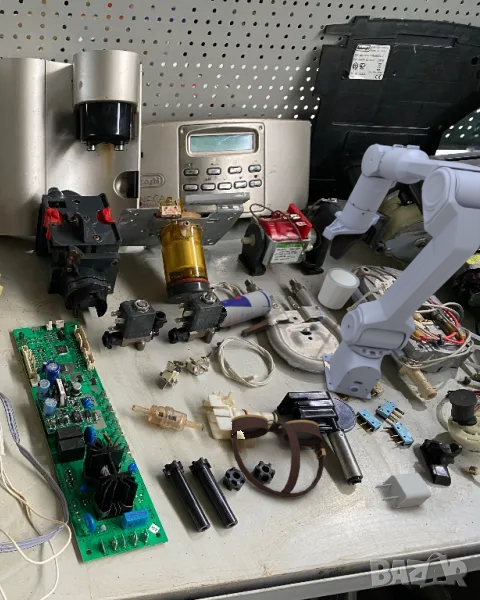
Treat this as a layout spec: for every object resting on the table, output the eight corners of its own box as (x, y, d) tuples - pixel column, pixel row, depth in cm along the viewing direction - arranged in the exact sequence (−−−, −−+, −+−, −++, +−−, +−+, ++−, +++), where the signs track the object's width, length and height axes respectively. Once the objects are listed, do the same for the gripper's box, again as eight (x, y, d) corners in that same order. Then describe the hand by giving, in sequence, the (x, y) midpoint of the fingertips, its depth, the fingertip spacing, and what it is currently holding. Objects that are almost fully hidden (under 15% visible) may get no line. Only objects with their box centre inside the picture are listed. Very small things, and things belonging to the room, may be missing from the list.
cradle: (258, 293, 119) (261, 288, 118) (287, 319, 113) (290, 314, 112) (215, 310, 113) (216, 305, 112) (243, 338, 108) (245, 333, 107)
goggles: (309, 430, 92) (336, 408, 84) (322, 507, 85) (353, 492, 77) (223, 421, 92) (241, 398, 84) (228, 498, 85) (249, 482, 77)
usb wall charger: (419, 506, 84) (432, 494, 81) (380, 511, 83) (393, 499, 80) (404, 483, 87) (416, 470, 84) (366, 487, 86) (378, 475, 83)
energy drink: (260, 284, 112) (215, 297, 108) (276, 302, 109) (230, 316, 105) (251, 301, 116) (207, 314, 112) (266, 318, 113) (221, 333, 109)
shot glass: (308, 294, 120) (320, 270, 115) (330, 287, 122) (343, 264, 118) (330, 314, 116) (343, 290, 111) (352, 307, 118) (366, 283, 113)
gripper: (370, 186, 110) (342, 238, 119) (323, 200, 104) (297, 254, 113) (399, 203, 106) (367, 256, 115) (351, 219, 100) (322, 273, 109)
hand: (334, 256), depth 114 cm, fingers closed
